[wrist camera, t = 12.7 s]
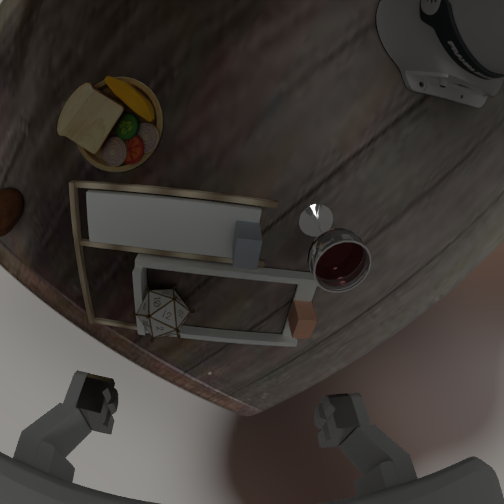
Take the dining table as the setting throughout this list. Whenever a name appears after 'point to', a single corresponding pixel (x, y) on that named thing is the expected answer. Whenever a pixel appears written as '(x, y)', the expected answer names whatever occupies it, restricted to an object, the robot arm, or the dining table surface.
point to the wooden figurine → (9, 209)
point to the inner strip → (176, 225)
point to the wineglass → (334, 251)
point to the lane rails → (86, 242)
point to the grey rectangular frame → (301, 308)
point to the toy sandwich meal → (113, 123)
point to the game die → (163, 312)
